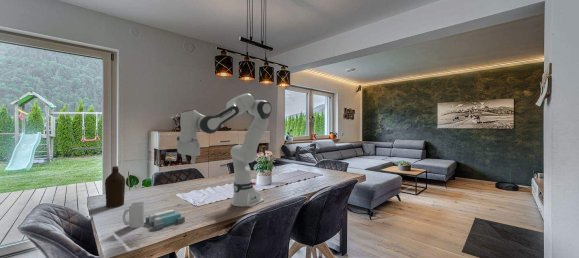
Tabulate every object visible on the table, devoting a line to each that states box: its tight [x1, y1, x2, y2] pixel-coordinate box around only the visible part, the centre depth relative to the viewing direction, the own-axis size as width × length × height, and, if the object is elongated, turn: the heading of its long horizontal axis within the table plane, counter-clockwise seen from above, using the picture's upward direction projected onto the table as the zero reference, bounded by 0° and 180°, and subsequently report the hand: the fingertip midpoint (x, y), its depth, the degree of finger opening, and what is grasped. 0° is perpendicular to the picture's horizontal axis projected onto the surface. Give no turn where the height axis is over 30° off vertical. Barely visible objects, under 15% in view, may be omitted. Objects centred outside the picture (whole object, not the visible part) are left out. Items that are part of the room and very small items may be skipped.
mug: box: [122, 201, 145, 229], centre depth 123 cm, size 10×7×12 cm, turn 150°
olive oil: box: [104, 165, 126, 209], centre depth 156 cm, size 11×11×25 cm
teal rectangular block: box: [154, 212, 182, 227], centre depth 127 cm, size 12×3×4 cm, turn 139°
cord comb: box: [145, 216, 186, 231], centre depth 129 cm, size 14×14×4 cm
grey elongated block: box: [148, 209, 176, 223], centre depth 131 cm, size 12×3×4 cm, turn 140°
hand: (188, 162), depth 139 cm, fingers open, 8 cm apart
